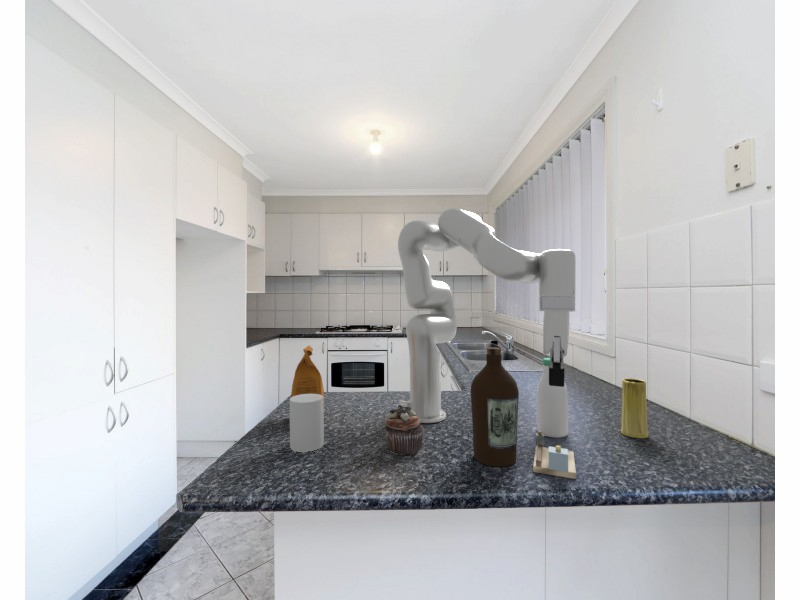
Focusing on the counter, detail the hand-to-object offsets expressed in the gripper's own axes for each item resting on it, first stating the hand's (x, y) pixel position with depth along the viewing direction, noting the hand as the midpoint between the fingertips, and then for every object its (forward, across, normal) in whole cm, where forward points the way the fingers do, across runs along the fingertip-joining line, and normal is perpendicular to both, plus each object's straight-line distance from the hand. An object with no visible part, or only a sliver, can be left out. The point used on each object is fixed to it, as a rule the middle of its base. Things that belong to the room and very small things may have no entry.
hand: (556, 385), depth 82 cm
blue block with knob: (+15, +8, 0) cm, 17 cm away
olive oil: (+17, +6, -13) cm, 22 cm away
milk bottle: (+17, -16, -1) cm, 23 cm away
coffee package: (+18, 0, -69) cm, 71 cm away
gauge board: (+16, +4, 0) cm, 17 cm away
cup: (+17, +16, -57) cm, 62 cm away
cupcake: (+17, +8, -34) cm, 39 cm away
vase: (+17, -23, +19) cm, 34 cm away
